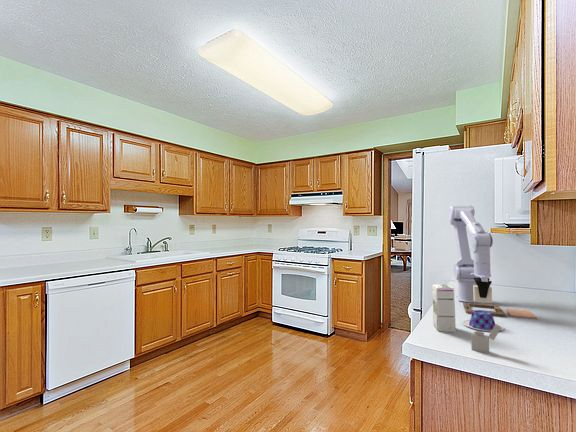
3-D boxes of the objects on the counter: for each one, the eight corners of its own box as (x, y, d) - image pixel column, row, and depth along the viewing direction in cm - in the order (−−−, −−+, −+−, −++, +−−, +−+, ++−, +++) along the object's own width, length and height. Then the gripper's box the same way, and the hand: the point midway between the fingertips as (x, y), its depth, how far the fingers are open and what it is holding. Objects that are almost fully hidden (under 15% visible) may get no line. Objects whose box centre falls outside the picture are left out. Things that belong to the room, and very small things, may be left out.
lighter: (471, 349, 89) (470, 321, 89) (472, 347, 90) (471, 319, 90) (501, 355, 85) (501, 325, 85) (502, 353, 86) (501, 324, 86)
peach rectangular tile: (505, 309, 128) (505, 308, 128) (529, 311, 125) (529, 310, 125) (511, 316, 119) (511, 314, 119) (537, 319, 116) (537, 317, 116)
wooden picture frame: (463, 304, 136) (462, 300, 136) (498, 307, 131) (498, 303, 131) (466, 313, 124) (466, 309, 124) (505, 317, 118) (505, 312, 118)
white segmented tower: (456, 332, 103) (455, 287, 103) (436, 331, 104) (436, 287, 104) (451, 326, 108) (450, 284, 109) (432, 325, 110) (431, 283, 110)
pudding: (454, 324, 112) (454, 309, 112) (479, 320, 116) (478, 305, 116) (486, 335, 101) (485, 318, 101) (512, 330, 105) (511, 314, 105)
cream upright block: (473, 299, 130) (473, 285, 130) (490, 301, 127) (490, 286, 127) (474, 301, 127) (474, 286, 127) (492, 303, 125) (491, 287, 125)
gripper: (468, 260, 136) (469, 292, 136) (472, 264, 123) (473, 299, 122) (487, 261, 133) (488, 293, 133) (494, 265, 120) (494, 301, 119)
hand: (482, 296), depth 127 cm, fingers closed on cream upright block, 3 cm apart
